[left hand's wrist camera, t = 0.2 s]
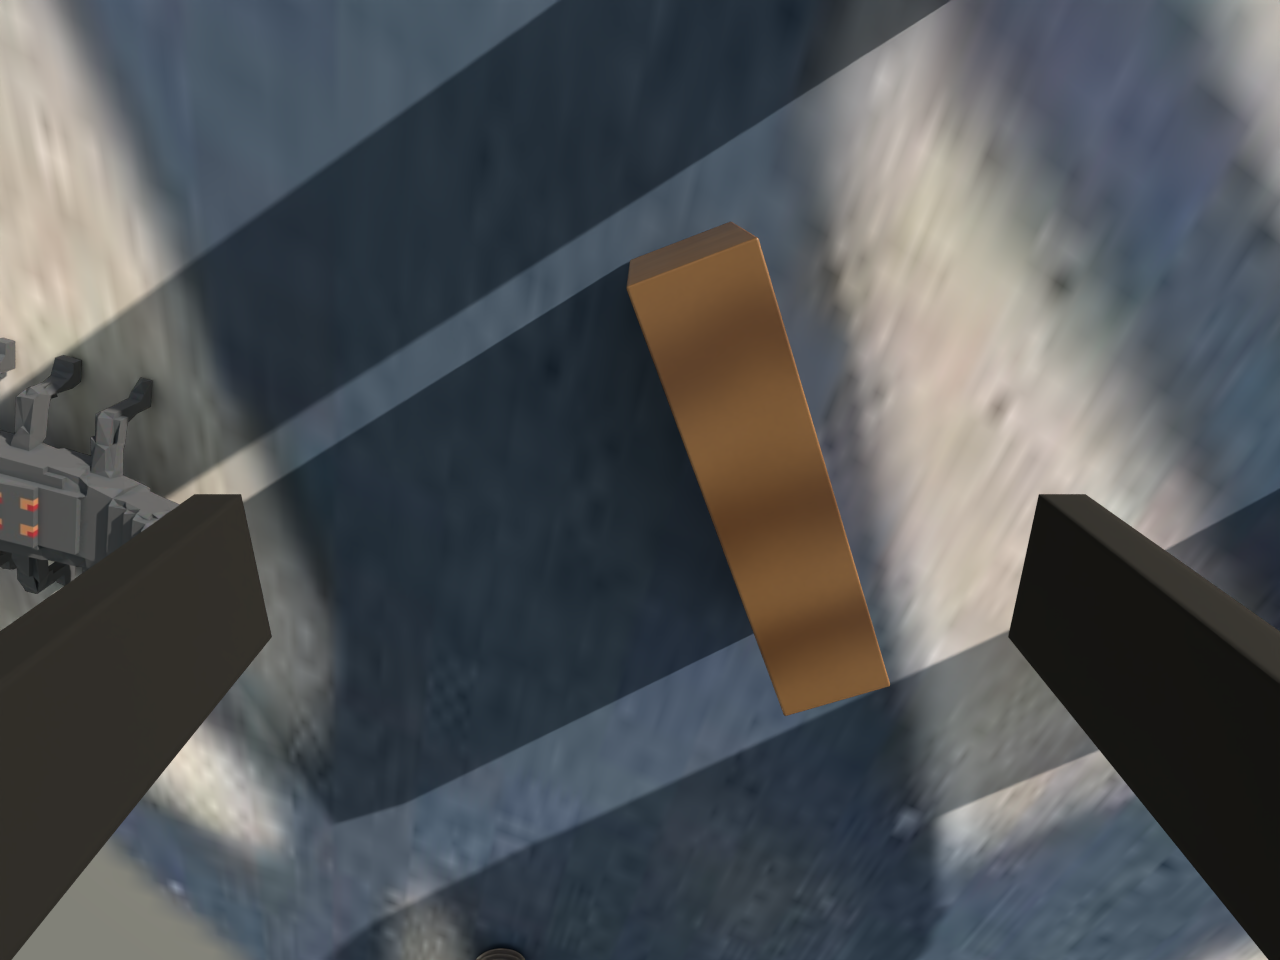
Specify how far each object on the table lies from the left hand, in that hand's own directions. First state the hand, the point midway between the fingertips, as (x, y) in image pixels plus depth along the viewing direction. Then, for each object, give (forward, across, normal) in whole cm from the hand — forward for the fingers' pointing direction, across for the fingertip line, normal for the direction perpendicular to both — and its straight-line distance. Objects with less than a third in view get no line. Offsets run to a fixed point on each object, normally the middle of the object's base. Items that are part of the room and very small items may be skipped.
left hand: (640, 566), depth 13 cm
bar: (+26, +6, -7) cm, 28 cm away
